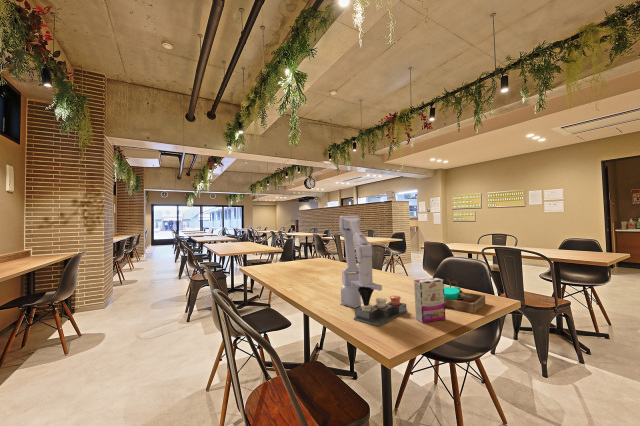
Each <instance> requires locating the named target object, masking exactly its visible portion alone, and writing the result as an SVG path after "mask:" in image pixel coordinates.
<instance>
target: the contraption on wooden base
mask: <svg viewBox="0 0 640 426" xmlns="http://www.w3.org/2000/svg"><path fill="white" fill-rule="evenodd" d="M447 282H448V283H449V286H444V299H450V300H456V301H461V302H467V303H472V302H470V301H469V300H467V299H471V296H466V295H464V292H465V291H463V290H461V287H460V286H459V284H458V282H457V281H456V280H454V279H452V278H447ZM452 283H453V285H454V287H453V286H452ZM463 298H464V299H463ZM445 309H448V310H454V308H452V307H451V306H449V305H446V306H445Z"/></svg>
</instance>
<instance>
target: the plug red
mask: <svg viewBox="0 0 640 426" xmlns="http://www.w3.org/2000/svg"><path fill="white" fill-rule="evenodd" d="M389 299H390V302H391V305H393V306H399V305H400V303H401V302H400V301H401V296H399V295H390V296H389Z"/></svg>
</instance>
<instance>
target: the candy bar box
mask: <svg viewBox="0 0 640 426" xmlns="http://www.w3.org/2000/svg"><path fill="white" fill-rule="evenodd" d="M444 281H445V280H444V279H442V278H438V277H434V278H433V277H431V278H423V279H414V281H413V284H414V285H413V287H414V304H415V305H414V306H415V307H414V308H415V309H414V310H415V320H416V321H419V323H422V324H427V323H428V324H429V323H432V322H440V321H445V320H446V308H445V300H444V287H445V282H444Z"/></svg>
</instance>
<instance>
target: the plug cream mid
mask: <svg viewBox="0 0 640 426" xmlns="http://www.w3.org/2000/svg"><path fill="white" fill-rule="evenodd" d="M375 302H376V304H377V308H381V309H384V308H386V304H387V298H384V297H376V298H375Z"/></svg>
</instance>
